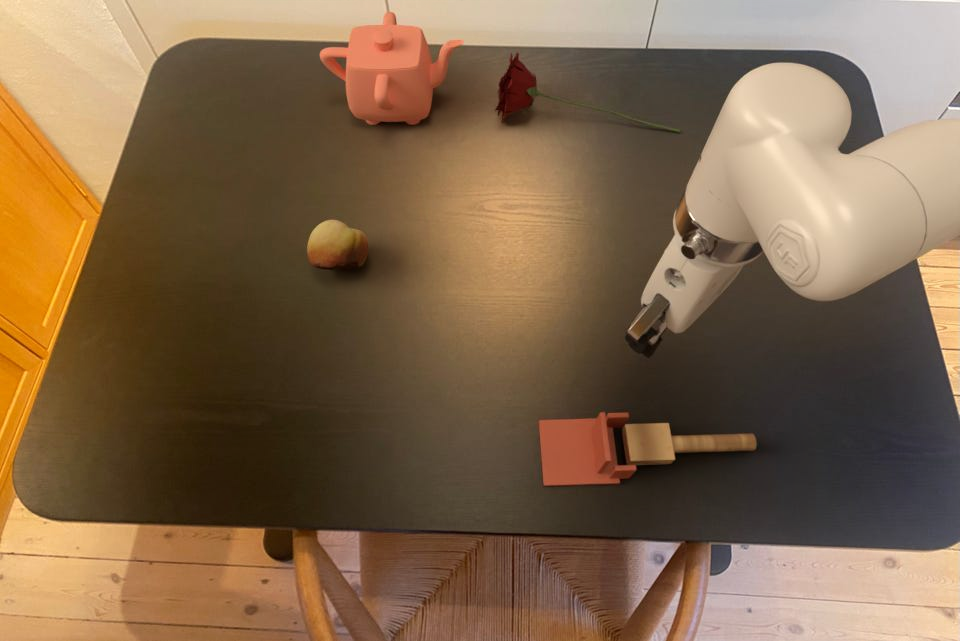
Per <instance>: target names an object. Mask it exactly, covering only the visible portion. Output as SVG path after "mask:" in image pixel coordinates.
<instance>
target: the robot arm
mask: <svg viewBox="0 0 960 641" xmlns="http://www.w3.org/2000/svg"><path fill="white" fill-rule="evenodd" d="M852 115H853V114H852V107H851V102H850V100H849V97H848V95H847V94H846V92H845V91H844V89H843V87H841V86H840V84H839V83H838V82H836V80H835V79H834V78H832V77H831V76H830V75H827V73H824V72H823V71H821V70H819V69H817V68H815V67H812V66H809V65H806V64H801V63H797V62H773V63H768V64H763V65H761V66H758V67H756V68H753V69H752V70H750V71H749V72H747V73H745V74H744V75H743V76H742V77H740V79H739V80H737V81H736V83H735V84H733V87H732V88H731V90H730V91H729V93H728V95H727V97H726V98H725V101H724V103H723V105H722V107H721V109H720V112H719V114H718V116H717V117H716V120H715V122H714V125H713V127H712V128H711V132H710V134H709V136H708V138H707V141H706V143H705V144H704V147H703V149H702V151H701V153H700V155H699V158H698V160H697V162H696V164H695V167H694V169H693V171H692V173H691V176H690V178H689V180H688V183H687V184H686V187H685V189H684V191H683V194H682V196H681V198H680V200H679V202H678V204H677V207H676V209H675V211H674V214H673V218H672V227H673V231H674V235H673V237H672V238H671V240H670V242H669V244H668V245H667V247H666V248H665V249H664V252H663V253H662V255H661V257H660V259H659V261H658V262H657V264H656V266H655V268H654V270H653V272H652V273H651V275H650V277H649V279H648V281H647V283H646V285H645V287H644V289H643V292H642V294H641V296H640V305H641V308H642V309H641V310H640V311H639V313H638V314H637V315H636V317H635V318H634V319H633V320H632V322H631V323H630V325H629V327H628V328H627V331H626V332H625V335H624V340H625V341H626V342H627V344H628V346H629V347H630V349H631V350H633V351H634V352H635V353H636V354H639V355H642V356H644V357H645V358H647V359H651V358H652V357H653V355H654V354H655V352H656V351H657V349H658V347H659V346H660V344H661V342H662V341H663V337H662V336H663V334H664V333H665V332H666V331H667V329H668V330H669V331H671V332H673V334H682V333H684V332H685V331H686V330H687V329H689V328H690V327H691V326H692V325H693V324H694V323H695V322H696V321H697V320H698V319H699V318H700V317H701V316H702V315H703V313H705V311H706V310H707V309H708V308H709V307H710V306H712V304H713V303H714V302H716V300H717V299H718V298H719V297H720V296H721V295H722V294H723V293H724V292H725V291H726V289H727V288H728V287H729V286H730V285H731V284H732V283H733V281H734V280H736V278H737V277H738V275H739V274H740V272H741V271H742V269H743V268H744V266H745V265H747V264H750V263H751V262H753V261H755V260H757V259H758V258H759V257H760V256H761V255H762V254H763V253H764V255H765V256H766V258H767V261H768V262H769V263H770V265H771V267H772V268H773V270H774V272H775V273H776V274H777V275H778V277H779V278H780V279H781V280H782V282H783V283H784V284H785V285H786V286H787V287H788V288H789V289H791V290H792V291H793V292H794V293H795V294H798V295H799V296H801V297H803V298H805V299H808V300H812V301H815V302H816V301H817V302H834V301H837V300H841V299H844V298H846V297H850V296H852V295H853V294H857V293H858V292H860V291H861V290H863V289H865V288H867V287H869V286H870V285H872V284H874V283H876V282H878V281H879V280H881V279H883V278H885V277H886V276H888V275H891V274H892V273H893V272H895V271H898V270H899V269H901V268H903V267H904V266H907V265H908V264H910V263H911V262H914V261H915V260H917V259H919V258H921V257H922V256H924V255H926V254H928V253H930V252H931V251H933V250H935V249H936V248H938V247H940V246H942V245H944V244H946V243H947V242H950V241H951V240H953V239H955V238H957V237H960V118H940V119H939V118H938V119H929V120H924V121H920V122H917V123H916V122H915V123H912V124H909V125H906V126H904V127H902V128H900V129H897V130H895V131H892V132H890V133H888V134H886V135H884V136H882V137H880V138H877V139H876V140H873V141H871V142H869V143H868V144H865V145H863V146H861V147H860V148H858V149H856V150H853V151H852V152H850V153H848V154H847V153H843V152H841V151H840V150H839V149H840V147H841V145H842V144H843V142H844V140H845V139H846V138H847V135H848V133H849V130H850V129H851V128H850V127H851V125H852ZM658 320H659V321H660V322H662V323H661V324H660V325H659V326H658V328H657V329H655V328H654V327H653V326H654V324H655V323H656V322H657V321H658Z"/></svg>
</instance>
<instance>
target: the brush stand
mask: <svg viewBox="0 0 960 641" xmlns="http://www.w3.org/2000/svg"><path fill="white" fill-rule="evenodd" d="M629 418H630V415H629V412H608V413H607V414H606V412H605V411H602V412H599V413H598V416H597V417H592V418H567V419H566V418H561V419H539V420H538V430H539V444H540V456H541V457H540V458H541V470H542V484H543V485H542V486H543V487H567V486H570V487H571V486H596V485H597V486H598V485H599V486H600V485H601V486H603V485H620V484H621V480H627V479H630V478H631V477H632V476H633V474H635V473H636V471H637V465H627V464H621V465H619V464H618V457H617V449H616V443H615V435H614V433H615V432H614V429H622V428H623V427H624V426H625V424H626V422H627V421H628V420H629Z"/></svg>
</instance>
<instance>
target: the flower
mask: <svg viewBox="0 0 960 641" xmlns="http://www.w3.org/2000/svg"><path fill="white" fill-rule="evenodd" d="M519 56H520V53H519V51H517V52H516V53H515V55H514V57H513V52H510V56H509V65H508V67H507V68H506V71H505V72H504V74H503V76H501V77H500V79H499V81H498V90H497V95H498V96H497V97H498V103H497V106H496V107H495V109H494V112H496V111H497V117H498V118H500V113H501V120H500V123H501V124H503V123H504V117H506V116H508V115H511V114H513V113H515V112H518V111H520V110H523V109H526V110H525V111H524V112H523V113H522V115H524V114H526V113H527V112H528V111H529V109H530V108H531V107H532V105H533V103H534V102H535V100H536V97H538V96H539V97H540V96H541V97H544V98H548V99H551V100H555V101H559V102H562V103H567V104H571V105H575V106H579V107H584V108H588V109H593V110H598V111H602V112H606V113H609V114H613V115H616V116H618V117H622V118H624V119H627V120H629V121H633V122H636V123H640V124H642V125H646V126H649V127H654V128H657V129H662V130H665V131H670V132H674V133H681V130H682V129H679V128H674V127H670V126H666V125H661V124H658V123H653V122H649V121H645V120H641V119H638V118H635V117H632V116H629V115H626V114H623V113H620V112H618V111H614V110H611V109H607V108H603V107H598V106H594V105H589V104H584V103H580V102H576V101H571V100H567V99H564V98H562V97H561V98H560V97H557V96H553V95H549V94H545V93H542V92H540V91H538V84H537V82H538V80H537V77H536V74H535V73H533V72H532V71H531V70H529V69H528V68H527V66H526V65H525V64H524V63H523V62H522V61H521V60H520V59H519Z"/></svg>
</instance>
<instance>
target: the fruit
mask: <svg viewBox="0 0 960 641" xmlns="http://www.w3.org/2000/svg"><path fill="white" fill-rule="evenodd" d="M308 237H309V238H308V241H307V246H306V253H307V258H308V260H309V263H310V265H312V266H313V267H314V268H316V269H319V270H325V271H326V270H327V271H332V270H340V271H343V272H349V271H352V270H354V269H358V268H360V267H362V266H363V265H364V263H365V262H366V260H367V257H368V254H369V240H368V237H367V235H366V234H365V233H364V232H363V231H362V230H360V229H357V228H352V227H348V225H347V224H346V223H344V222H342V221H341V220H337V219H327V220H325V221H323V222H321V223H319V224H318V225H316V226H315V228H314V229H312V231H311V233H310V234H309V236H308Z"/></svg>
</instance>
